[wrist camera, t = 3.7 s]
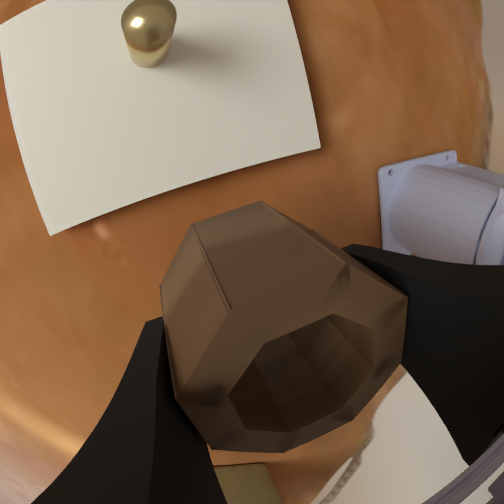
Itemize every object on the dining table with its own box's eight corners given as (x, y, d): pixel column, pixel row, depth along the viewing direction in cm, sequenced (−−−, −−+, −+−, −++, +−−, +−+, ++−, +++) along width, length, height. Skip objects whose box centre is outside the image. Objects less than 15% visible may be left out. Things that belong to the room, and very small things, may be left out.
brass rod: (163, 36, 14) (171, -10, 8) (171, 67, 14) (181, 33, 9) (128, 46, 13) (116, 4, 7) (135, 77, 14) (125, 48, 8)
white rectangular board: (263, -38, 13) (272, -48, 12) (309, 145, 19) (320, 147, 17) (8, 32, 10) (-2, 26, 9) (57, 227, 16) (50, 236, 14)
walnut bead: (305, 185, 10) (410, 233, 6) (325, 315, 13) (396, 394, 8) (140, 241, 9) (137, 341, 5) (198, 366, 12) (230, 472, 7)
